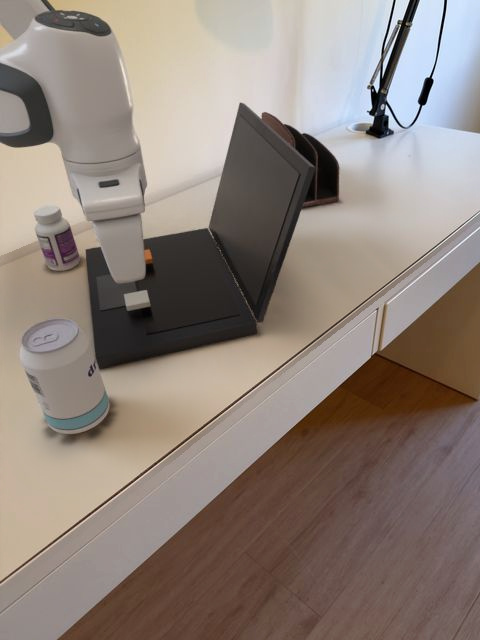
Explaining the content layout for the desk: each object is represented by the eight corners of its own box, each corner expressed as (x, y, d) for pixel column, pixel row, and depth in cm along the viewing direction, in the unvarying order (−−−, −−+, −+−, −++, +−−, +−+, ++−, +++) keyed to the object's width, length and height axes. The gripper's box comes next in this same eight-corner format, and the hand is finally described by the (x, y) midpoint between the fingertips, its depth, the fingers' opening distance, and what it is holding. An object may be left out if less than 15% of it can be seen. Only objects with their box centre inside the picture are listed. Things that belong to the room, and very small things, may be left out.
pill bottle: (79, 253, 91) (64, 200, 85) (81, 268, 87) (65, 213, 81) (47, 259, 90) (29, 206, 84) (47, 274, 86) (28, 219, 80)
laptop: (99, 369, 67) (95, 356, 65) (88, 259, 89) (85, 248, 88) (257, 334, 71) (256, 321, 70) (208, 238, 94) (207, 227, 92)
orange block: (132, 266, 81) (131, 262, 80) (130, 257, 83) (129, 252, 83) (153, 262, 82) (152, 258, 81) (150, 253, 84) (149, 249, 83)
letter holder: (291, 210, 101) (290, 134, 92) (261, 175, 116) (258, 106, 107) (339, 202, 103) (343, 127, 94) (304, 168, 118) (304, 100, 109)
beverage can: (115, 429, 59) (88, 345, 51) (51, 447, 57) (13, 363, 49) (107, 390, 64) (81, 308, 56) (48, 405, 62) (13, 323, 54)
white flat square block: (127, 311, 71) (126, 306, 71) (125, 298, 74) (123, 294, 73) (150, 306, 72) (149, 301, 72) (147, 294, 75) (146, 289, 74)
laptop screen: (309, 166, 59) (316, 167, 59) (239, 102, 81) (244, 103, 82) (256, 322, 70) (262, 322, 70) (207, 227, 92) (212, 228, 93)
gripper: (76, 150, 69) (101, 245, 78) (83, 214, 54) (112, 323, 62) (125, 144, 70) (143, 238, 79) (145, 204, 55) (165, 312, 64)
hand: (130, 276), depth 71 cm, fingers closed
